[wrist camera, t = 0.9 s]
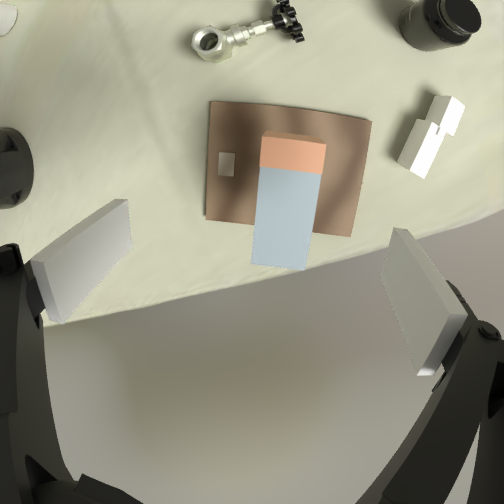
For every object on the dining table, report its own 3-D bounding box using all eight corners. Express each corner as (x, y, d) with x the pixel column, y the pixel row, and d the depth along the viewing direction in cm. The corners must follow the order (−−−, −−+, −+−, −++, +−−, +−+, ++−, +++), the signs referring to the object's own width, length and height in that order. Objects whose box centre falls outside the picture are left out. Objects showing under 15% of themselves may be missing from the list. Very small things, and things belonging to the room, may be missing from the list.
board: (207, 216, 43) (189, 245, 35) (213, 101, 35) (192, 101, 27) (348, 233, 42) (362, 266, 34) (369, 120, 34) (393, 126, 26)
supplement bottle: (390, 8, 26) (426, -19, 16) (431, 7, 25) (475, -14, 14) (406, 54, 29) (449, 41, 19) (447, 51, 28) (496, 43, 17)
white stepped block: (396, 188, 38) (411, 201, 33) (363, 113, 34) (375, 115, 29) (476, 150, 34) (497, 158, 29) (449, 77, 30) (470, 76, 25)
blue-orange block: (256, 234, 33) (250, 264, 27) (266, 129, 28) (262, 136, 22) (302, 239, 33) (305, 270, 27) (317, 136, 27) (326, 144, 22)
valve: (213, 77, 34) (303, 45, 31) (200, 72, 28) (306, 34, 25) (195, 36, 31) (283, 3, 28) (179, 25, 25) (282, -14, 22)
